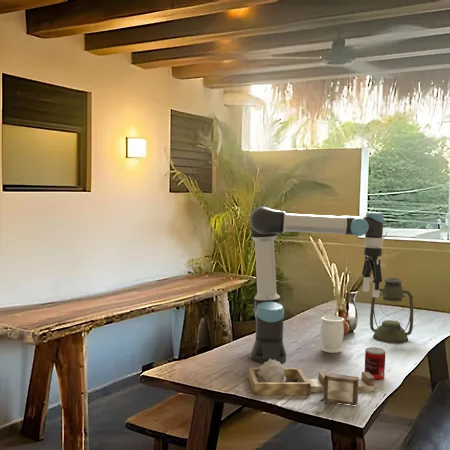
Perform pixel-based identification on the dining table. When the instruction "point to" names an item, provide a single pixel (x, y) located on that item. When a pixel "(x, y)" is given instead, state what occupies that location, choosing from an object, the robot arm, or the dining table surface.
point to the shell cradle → (280, 383)
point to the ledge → (363, 385)
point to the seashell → (271, 372)
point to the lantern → (389, 328)
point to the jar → (332, 333)
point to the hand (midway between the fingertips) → (370, 294)
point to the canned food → (375, 362)
